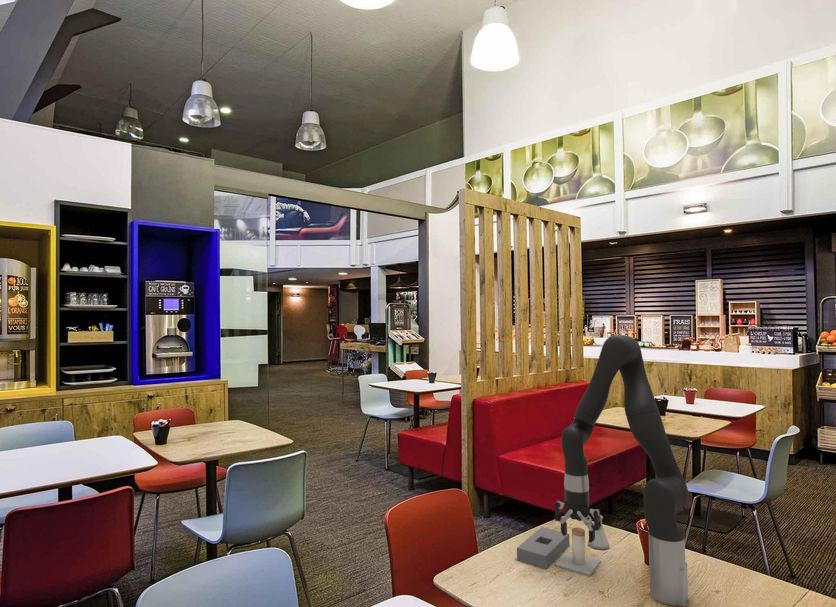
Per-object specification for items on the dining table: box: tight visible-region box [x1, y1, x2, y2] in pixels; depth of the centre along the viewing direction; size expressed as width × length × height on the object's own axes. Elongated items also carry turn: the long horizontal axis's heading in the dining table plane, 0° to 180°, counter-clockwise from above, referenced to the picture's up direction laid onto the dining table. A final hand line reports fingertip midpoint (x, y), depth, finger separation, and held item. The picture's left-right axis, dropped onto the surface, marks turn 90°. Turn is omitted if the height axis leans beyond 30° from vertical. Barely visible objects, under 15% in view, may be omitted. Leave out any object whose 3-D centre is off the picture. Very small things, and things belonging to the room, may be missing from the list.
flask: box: [587, 514, 610, 550], centre depth 175 cm, size 7×7×10 cm
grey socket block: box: [516, 526, 571, 570], centre depth 170 cm, size 10×20×4 cm, turn 143°
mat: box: [554, 550, 602, 577], centre depth 162 cm, size 11×11×1 cm
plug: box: [571, 527, 586, 565], centre depth 162 cm, size 4×4×10 cm
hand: (577, 538), depth 162 cm, fingers open, 8 cm apart
